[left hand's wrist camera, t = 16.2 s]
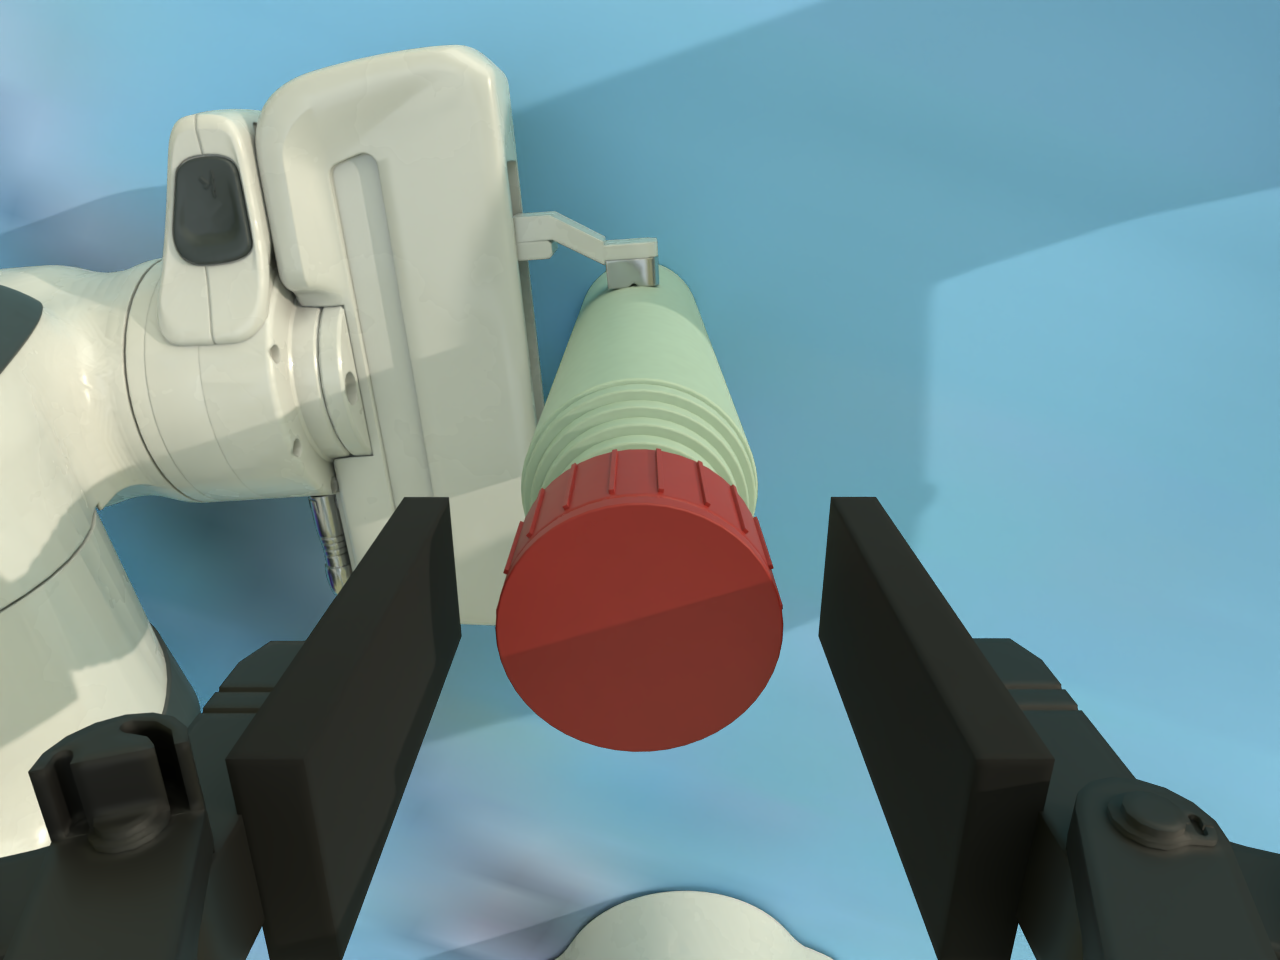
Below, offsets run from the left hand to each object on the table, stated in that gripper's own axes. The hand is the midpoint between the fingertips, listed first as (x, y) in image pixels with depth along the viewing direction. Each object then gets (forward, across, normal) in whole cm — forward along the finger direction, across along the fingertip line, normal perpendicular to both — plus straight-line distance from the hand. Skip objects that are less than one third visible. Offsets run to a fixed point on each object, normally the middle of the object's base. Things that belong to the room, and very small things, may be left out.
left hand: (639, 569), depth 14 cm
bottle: (+23, 0, 0) cm, 23 cm away
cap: (-2, 0, 0) cm, 2 cm away
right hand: (+17, -1, 0) cm, 17 cm away
